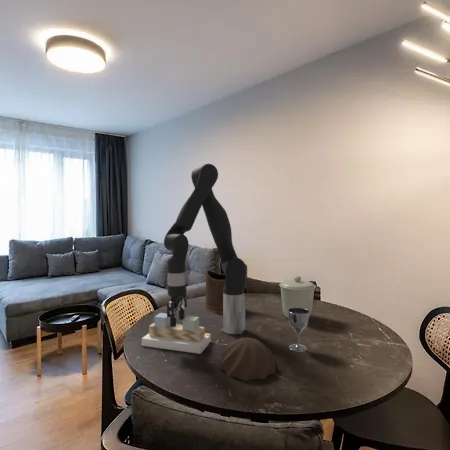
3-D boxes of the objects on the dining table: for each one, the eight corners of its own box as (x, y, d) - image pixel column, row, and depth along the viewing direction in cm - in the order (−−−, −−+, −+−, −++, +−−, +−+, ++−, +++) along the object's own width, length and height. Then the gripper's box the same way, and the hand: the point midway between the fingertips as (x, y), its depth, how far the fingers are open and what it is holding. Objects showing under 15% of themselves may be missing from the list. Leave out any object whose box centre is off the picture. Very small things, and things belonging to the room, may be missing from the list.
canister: (323, 318, 163) (323, 277, 162) (297, 326, 153) (298, 281, 152) (296, 309, 178) (296, 271, 177) (271, 315, 168) (271, 274, 167)
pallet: (204, 336, 132) (204, 327, 132) (199, 342, 127) (199, 332, 127) (155, 330, 138) (155, 321, 138) (149, 335, 133) (149, 326, 133)
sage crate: (199, 326, 132) (199, 316, 132) (194, 331, 127) (194, 321, 127) (187, 325, 134) (187, 315, 133) (182, 329, 129) (182, 319, 129)
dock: (210, 341, 135) (210, 333, 135) (200, 353, 123) (200, 345, 123) (156, 334, 142) (156, 327, 142) (141, 345, 130) (141, 337, 130)
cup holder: (206, 302, 191) (206, 259, 190) (248, 304, 188) (248, 260, 186) (200, 312, 173) (200, 265, 171) (245, 314, 169) (245, 266, 168)
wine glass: (296, 353, 124) (297, 314, 123) (283, 346, 131) (284, 309, 130) (312, 349, 127) (313, 311, 127) (299, 342, 134) (299, 306, 134)
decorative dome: (236, 387, 101) (236, 355, 101) (210, 360, 119) (211, 333, 118) (287, 373, 109) (287, 344, 109) (256, 350, 127) (257, 325, 127)
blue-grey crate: (171, 323, 136) (171, 314, 136) (165, 327, 131) (165, 317, 131) (160, 322, 137) (160, 312, 137) (154, 326, 132) (154, 316, 132)
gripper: (178, 288, 123) (179, 330, 124) (192, 279, 137) (192, 317, 138) (160, 286, 125) (161, 328, 126) (175, 278, 139) (176, 316, 140)
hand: (177, 322), depth 132 cm, fingers open, 8 cm apart
